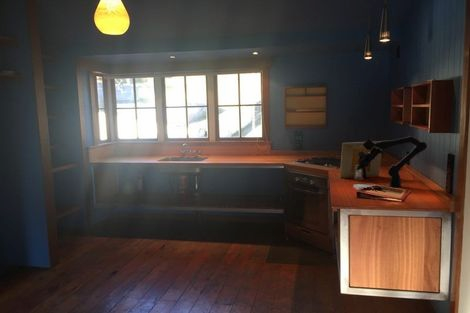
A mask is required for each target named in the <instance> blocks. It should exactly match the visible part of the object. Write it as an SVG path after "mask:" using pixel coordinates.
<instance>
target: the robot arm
mask: <svg viewBox="0 0 470 313" xmlns="http://www.w3.org/2000/svg"><path fill="white" fill-rule="evenodd" d="M363 142H364V143H363V144H362V145H363V146H364V147H365V148H366V149H367V150H368V149H369V150H371V149H372V148H373V147H374V148H373V149H372V150H371V151H370V152H369V153H364V152H363V151H360V150H359V152H358V154H357V155H359V156H362V158H361V159H362V160H361V161H360V164H359V166H358V167H357V169H356V170H359V169H362V168H365V167H368V166H369V163H370V162H371V161H372V160H374V158H375V157H376V156H377V155H379V154H380V153H381V156H383V154H384V150H386V149H388V148H390V147H392V146H398V145H403V144H407V143H411V144H413V145H414V147H413V148H412V150H411V151H410V152H409V153H408V154H406V155H405V156H404V157H403V158H401V160H400V161H398V163H395V164H394V163H393V164H392V165H391V166H389V167H388V171H387V172H388V175H389V176H390V178H389V185H388V186H389V187H392V188H402V187H403V186H402V185H401V184H402V178H401V175H400V173H399V172H400V170H401V169H402V168H403V167H404V166H405V165H406V164H407V163H409V162H410V161H411V160H412V159H413V158H415V156H416V155H417V154H420V153H421V152H423V151H425V150H426V149H427V143H426V142H425V141H423V140H422V141H421V140H418V139H416V138H415V137H413V136H412V135H409V136H407V137H406V136H405V137H402V138H397V139H393V140H381V141H380V142H379V143H373V142H374V141H373V140H372V139H371V138H368V139H367V140H365V141H363ZM376 147H379V148H380V149H382V151H381V150H380V149H379V148H378V149H377V148H376Z"/></svg>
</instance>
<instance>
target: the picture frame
mask: <svg viewBox="0 0 470 313" xmlns="http://www.w3.org/2000/svg"><path fill="white" fill-rule="evenodd" d="M364 142H365V141H357V142H355V141H353V142H342V145H341V155H340V157H341V158H340V166H339V167H340V171H339V178H340V179H345V178H349V179H350V178H355V165H359V164H360V161H361V160H362V159H361V158H362V156H359V155H357V154H358V152H359V150H360V151H363V152H364V153H369V152H370V151H371V150H372V149H373V148H374V147H373V148H372V149H371V150H369V149H368V150H367V149H366V148H365V147H364V146H363V145H362V144H363V143H364ZM372 142H373V143H379V142H380V141H379V140H378V141H377V140H376V141H372ZM376 148H377V149H378V148H379V147H376ZM379 149H380V148H379ZM380 150H381V151H383V149H380ZM381 160H382V154H381V153H380V154H379V155H377V156H376V157H375V158H374V160H372V161H371V162H370V163H369V166H368V167H365V168H362V177H363V180H364V179H367V178H369V177H372V178H373V177H379V176H380V170H381Z"/></svg>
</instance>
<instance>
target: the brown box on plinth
mask: <svg viewBox="0 0 470 313" xmlns="http://www.w3.org/2000/svg"><path fill="white" fill-rule="evenodd" d="M358 166H359V165H355V177H353V179H354V180H356V181H357V180H364V179H363V177H362V169H359V170H356V169H357V167H358Z"/></svg>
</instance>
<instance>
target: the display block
mask: <svg viewBox="0 0 470 313" xmlns="http://www.w3.org/2000/svg"><path fill="white" fill-rule="evenodd" d="M374 185H375V184H374V183H361V184H360V183H359V184H353V188H354V189H356V190H357V191H362V190H361V189H363V188H367V187H370V186H374Z"/></svg>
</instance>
